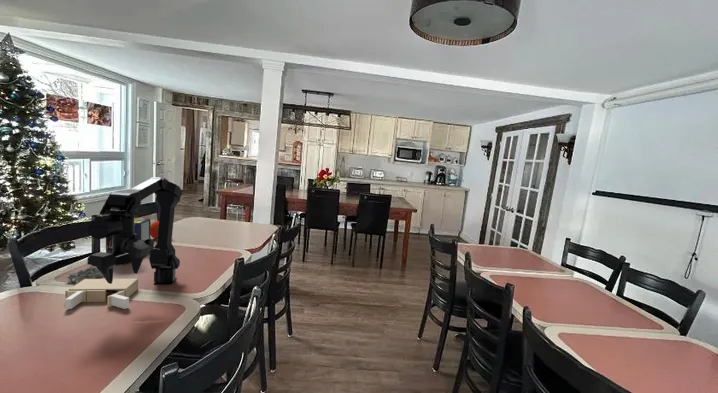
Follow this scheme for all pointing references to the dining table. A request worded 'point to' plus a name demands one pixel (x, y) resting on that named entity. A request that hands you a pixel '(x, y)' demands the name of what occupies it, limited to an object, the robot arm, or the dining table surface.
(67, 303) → the flap
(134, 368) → the dining table surface
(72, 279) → the egg carton
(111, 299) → the flap
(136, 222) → the protein box
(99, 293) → the carton
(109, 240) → the coffee jar
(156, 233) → the apple
